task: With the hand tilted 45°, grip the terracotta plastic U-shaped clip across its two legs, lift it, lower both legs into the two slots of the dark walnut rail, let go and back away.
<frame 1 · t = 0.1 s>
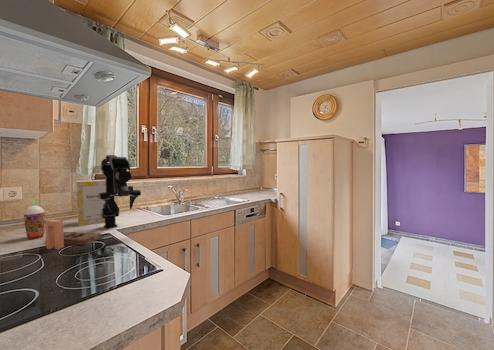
hand: (121, 210, 118), 15 cm above the worktop, tool pointing down, fingers open, 9 cm apart
smoothie: (35, 237, 120), on the worktop
clip: (55, 247, 105), on the worktop
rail: (74, 240, 115), on the worktop
pasta box: (95, 222, 150), on the worktop
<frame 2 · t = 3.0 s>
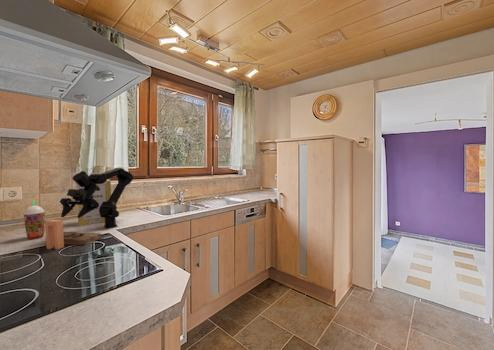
hand: (70, 217, 112), 13 cm above the worktop, tool tilted 45°, fingers open, 9 cm apart
nothing on the worktop moved.
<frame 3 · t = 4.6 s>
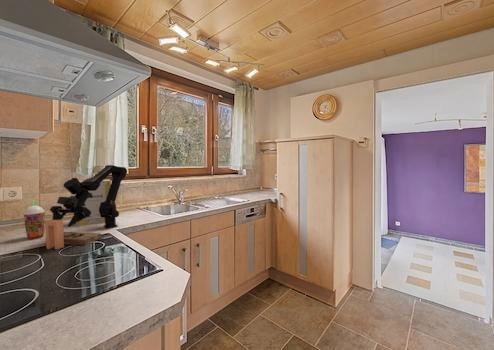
hand: (59, 226, 107), 9 cm above the worktop, tool tilted 45°, fingers open, 9 cm apart
nothing on the worktop moved.
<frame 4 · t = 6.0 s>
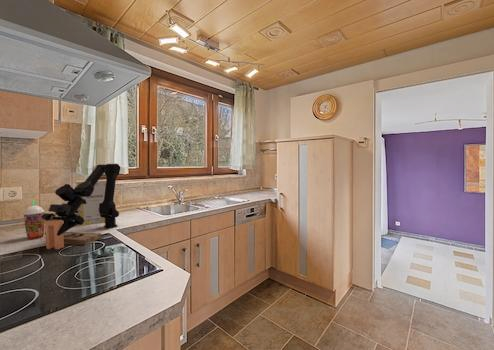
hand: (51, 235, 103), 7 cm above the worktop, tool tilted 45°, fingers closed on clip, 6 cm apart
clip: (55, 247, 105), on the worktop, touching gripper
everything else where it was.
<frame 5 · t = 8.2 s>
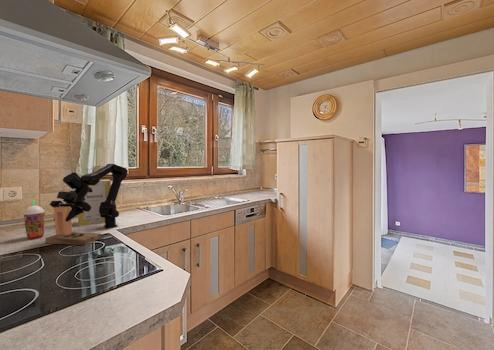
hand: (60, 220, 108), 12 cm above the worktop, tool tilted 45°, fingers closed on clip, 6 cm apart
clip: (63, 233, 109), point 5 cm above the worktop, touching gripper
everything else where it was.
when the fingers open (8 cm above the worktop, at t = 10.2 s): clip drops 1 cm, resting in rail.
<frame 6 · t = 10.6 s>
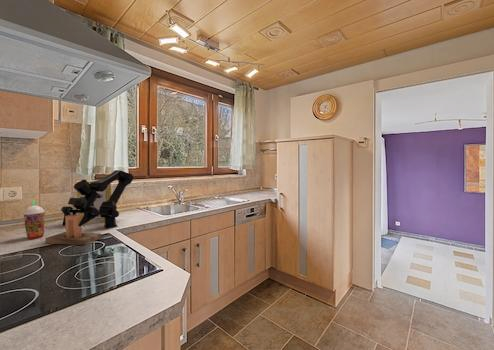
hand: (71, 225, 113), 8 cm above the worktop, tool tilted 45°, fingers open, 9 cm apart
clip: (74, 240, 115), resting in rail
everything else where it was.
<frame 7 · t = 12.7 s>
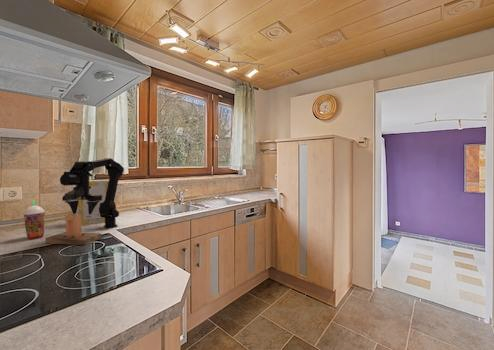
hand: (82, 214, 119), 12 cm above the worktop, tool pointing down, fingers open, 9 cm apart
nothing on the worktop moved.
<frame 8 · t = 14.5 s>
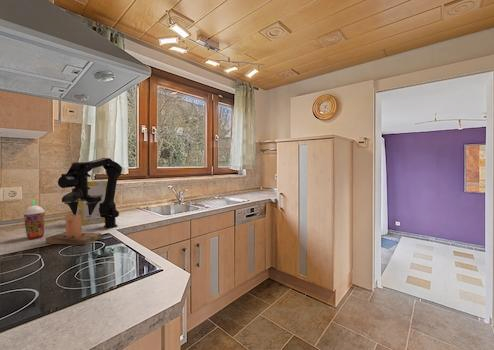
hand: (82, 215, 119), 12 cm above the worktop, tool pointing down, fingers open, 9 cm apart
nothing on the worktop moved.
at the end: clip 0.0 cm off-centre on the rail, point 0.0 cm above the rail's base; clip tilted 0°; the gripper is holding nothing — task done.
